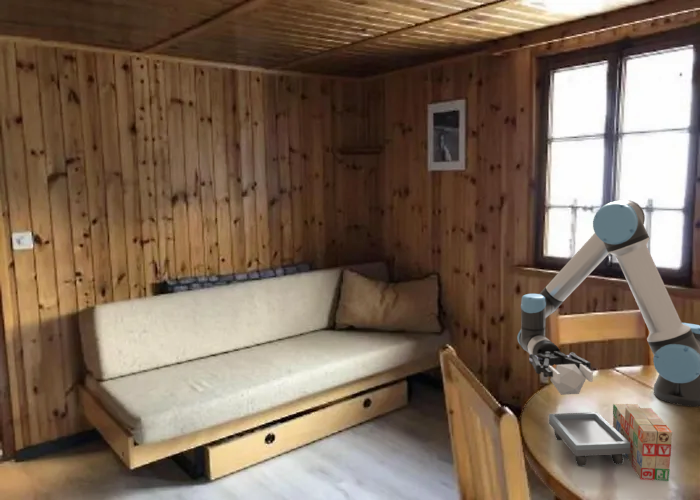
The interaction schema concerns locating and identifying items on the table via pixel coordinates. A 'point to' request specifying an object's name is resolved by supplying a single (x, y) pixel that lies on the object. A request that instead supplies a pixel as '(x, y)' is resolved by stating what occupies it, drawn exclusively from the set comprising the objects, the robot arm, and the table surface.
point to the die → (569, 379)
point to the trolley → (589, 436)
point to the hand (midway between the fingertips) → (575, 377)
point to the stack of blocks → (644, 440)
